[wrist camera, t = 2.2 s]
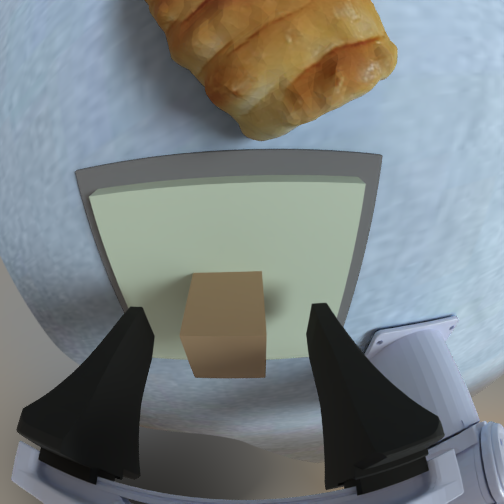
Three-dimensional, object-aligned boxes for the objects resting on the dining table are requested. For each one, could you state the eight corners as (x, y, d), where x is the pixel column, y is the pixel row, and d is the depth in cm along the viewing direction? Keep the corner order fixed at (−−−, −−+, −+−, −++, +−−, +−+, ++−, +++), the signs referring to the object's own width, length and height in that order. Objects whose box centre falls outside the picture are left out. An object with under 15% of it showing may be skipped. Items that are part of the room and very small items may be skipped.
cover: (322, 345, 16) (335, 403, 13) (154, 347, 16) (141, 404, 13) (358, 176, 10) (410, 230, 7) (97, 189, 10) (42, 243, 7)
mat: (333, 350, 17) (334, 352, 17) (146, 352, 17) (145, 355, 17) (380, 154, 10) (382, 155, 10) (77, 170, 10) (75, 171, 10)
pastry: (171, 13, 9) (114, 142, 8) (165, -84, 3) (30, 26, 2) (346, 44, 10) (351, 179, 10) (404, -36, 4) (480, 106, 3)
